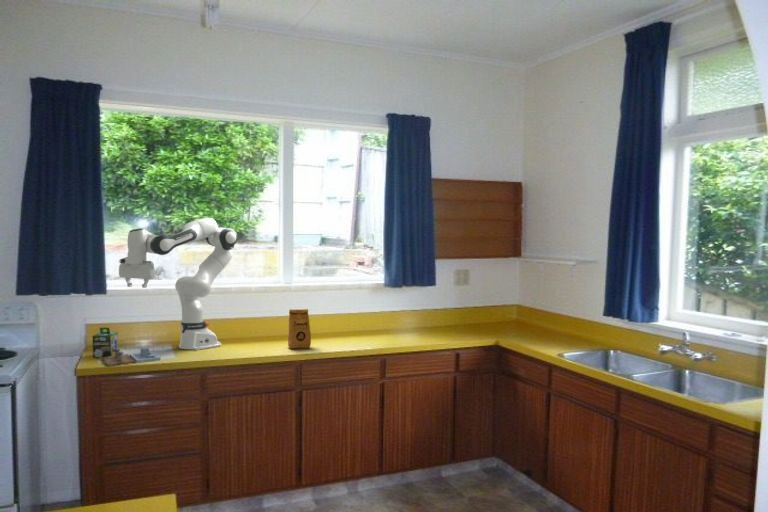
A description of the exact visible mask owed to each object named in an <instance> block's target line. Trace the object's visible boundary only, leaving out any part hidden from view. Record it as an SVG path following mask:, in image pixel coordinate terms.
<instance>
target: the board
mask: <svg viewBox="0 0 768 512" xmlns="http://www.w3.org/2000/svg"><path fill="white" fill-rule="evenodd" d="M113 352H115V355H114V356H109V357H101V361H102V362H103V363H104V362H105V363H106V364H107V365H106V364H105V363H104V364H105V365H106V366H107V367H108V368H109V367H115V365H117V366H122V365H121V364H125V365H129V364H128V363H133V364H136V362H135V360H134V359H132V358H131V357H130V354H124V351H123V350H122V351H121V349H120V348H119V347H118V348H116V349H113Z"/></svg>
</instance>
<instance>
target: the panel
mask: <svg viewBox="0 0 768 512" xmlns="http://www.w3.org/2000/svg"><path fill="white" fill-rule="evenodd" d="M129 356H130V357H131V358H132V359H134V360H135V361H136V362H139V363H143V362H142V361H147V362H153V361H152V360H155V361H160V360H161V357H160V356H159V355H158V354H157V353H155V352H154V351H150V348H149V347H147V346H146V347H145V346H144V347H140V352H139V353H137V352H136V353H129ZM136 362H135V363H136Z"/></svg>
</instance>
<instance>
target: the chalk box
mask: <svg viewBox="0 0 768 512" xmlns="http://www.w3.org/2000/svg"><path fill="white" fill-rule="evenodd" d="M104 330H105V331H104ZM91 337H92V358H93V357H94V358H102V357H109V356H115V352H113V349H116V348H119V338H118V337H119V336H118V331H110V327H106V326H104V327H99V332H98V333H95V334H93V335H92V336H91Z"/></svg>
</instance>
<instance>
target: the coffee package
mask: <svg viewBox="0 0 768 512" xmlns="http://www.w3.org/2000/svg"><path fill="white" fill-rule="evenodd" d="M288 314H289V317H288V337H287V338H288V339H287V343H288V344H287V346H288V348H289V349H292V350H293V349H295V350H296V349H298V350H299V349H302V350H303V349H310V347H311V344H312V335H311V334H312V333H311V325H310V318H309V309H308V308H302V309H289V311H288Z"/></svg>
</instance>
